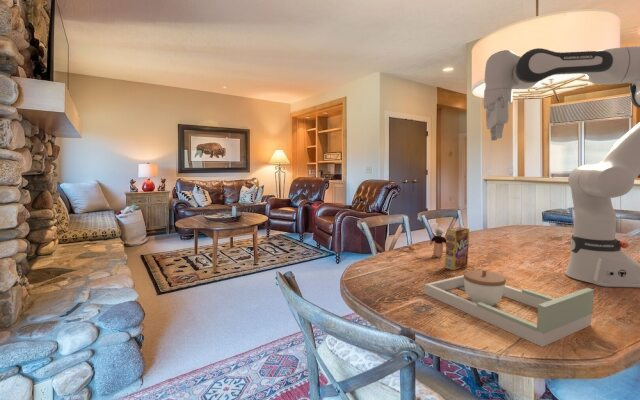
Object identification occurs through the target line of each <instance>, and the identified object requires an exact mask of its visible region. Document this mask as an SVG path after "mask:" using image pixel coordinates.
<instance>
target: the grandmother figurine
mask: <svg viewBox="0 0 640 400" xmlns="http://www.w3.org/2000/svg"><path fill="white" fill-rule="evenodd" d="M443 234H444V230H443V228H441V227H437V228H436V229H435V235H434V236H433V237H432V238H431V240H430V242H429V244H430V245H433V254H432V255H431V257H432V258H437V259H443V255H444V254H443V253H444V244H445V245H446V238H445V237H443ZM433 243H434V244H433Z"/></svg>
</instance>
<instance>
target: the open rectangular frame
mask: <svg viewBox="0 0 640 400" xmlns="http://www.w3.org/2000/svg"><path fill="white" fill-rule="evenodd" d="M521 290H522V293H525V294H528V295H531V296H534V297H537V298H540V299H543V300H546V301H547V302H545V303H542V304H539V305H538V308H537V317H536V318H537V320H536V322H537V323H536V324H535V323H533V322H530V321H528V320H527V319H526V320H525V319H524V318H521V317H518V316H516V315H513V314H511V313H509V312H506V311H503V310H501V309H499V308H496V307H494V306H489V305H486V304H484V303H481V302H479V303H477V307H480V308H482V309H485V310H487V311H489V312H492V313H494V314H496V315H499V316H501V317H504V318H506V319H508V320H511V321H513V322H516V323H518V324H520V325H523V326H525V327H528V328H530V329H532V330H535V331H538V332H540V333H542V334H545V333H547V332H549V331H552V330H554V329H557V328H559V327H561V326H564V325H566V324H568V323H571V322H573V321H576V320H578V319H580V318H583V317H585V316H588V315H590V314H593V308H594V307H593V306H594V295H595V294H594V293H595V290H594V289H592V288H590V287H586V288H582V289H579V290H576V291H574V292H571V293H568V294H565V295H562V296H560V297H557V298H555V297H551V296H549V295H546V294H543V293H540V292H537V291H533V290H530V289H527V288H524V289H521Z"/></svg>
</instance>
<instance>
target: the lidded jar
mask: <svg viewBox="0 0 640 400" xmlns="http://www.w3.org/2000/svg"><path fill="white" fill-rule="evenodd" d="M463 275H464V287H465V291H464V292H465V293H466V295H467V297H468V298H469V299H470V301H471V302H474V303H476V304H477V303H479V302H481V303H484V304H486V305H489V306H491V307H494V306H496V304H497V303H498V302H500V301H501V299H502V298H503V297H504V296H503V294H504V290H505V285H506V283H507V282H506V281H507V280H506V279H507V278H506V277H505V276H504V275H503V274H500V273H497V272H495V271H491V270H490V271H489V270H486V269H481V270H480V269H474V270H473V269H472V270H466V271H464V273H463Z"/></svg>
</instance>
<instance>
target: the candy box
mask: <svg viewBox="0 0 640 400" xmlns="http://www.w3.org/2000/svg"><path fill="white" fill-rule="evenodd" d="M445 239H446V244H445V253H444V255H445V256H444V257H445V260H444V268H445V269H448V270H451V271H456V270H459V269H462V268H466V267H468V257H469V242H470V227H467V226H466V227H465V226H459V227H451V228H447V229H446V238H445Z"/></svg>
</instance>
